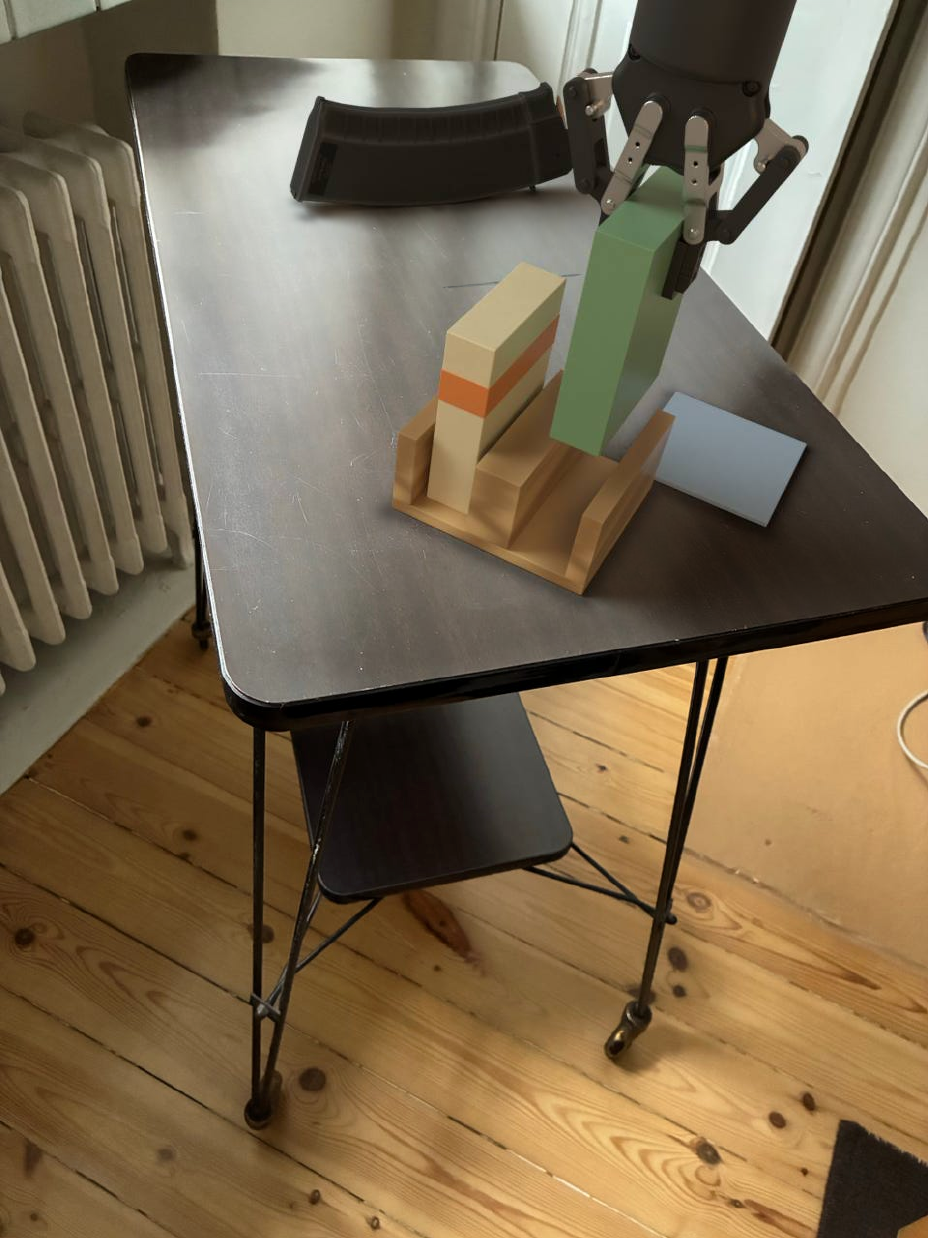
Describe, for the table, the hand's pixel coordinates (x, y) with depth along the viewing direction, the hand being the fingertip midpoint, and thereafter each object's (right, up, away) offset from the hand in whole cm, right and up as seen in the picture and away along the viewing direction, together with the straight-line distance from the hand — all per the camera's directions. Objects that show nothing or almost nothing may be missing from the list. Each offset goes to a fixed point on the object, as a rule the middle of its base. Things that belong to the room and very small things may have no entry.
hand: (640, 280), depth 59 cm
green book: (-1, -6, +7) cm, 9 cm away
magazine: (-14, +24, +46) cm, 54 cm away
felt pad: (+10, -7, +22) cm, 25 cm away
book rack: (-6, -11, +16) cm, 20 cm away
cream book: (-9, -9, +16) cm, 20 cm away
